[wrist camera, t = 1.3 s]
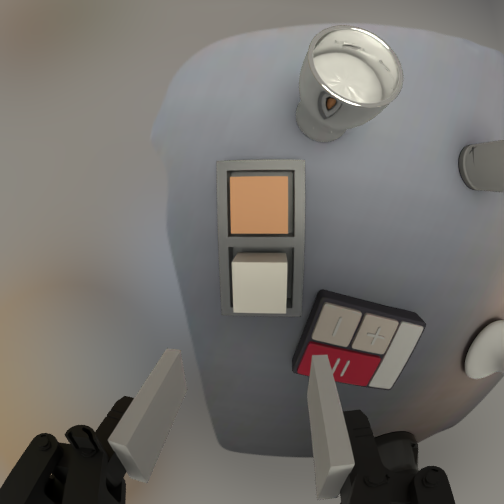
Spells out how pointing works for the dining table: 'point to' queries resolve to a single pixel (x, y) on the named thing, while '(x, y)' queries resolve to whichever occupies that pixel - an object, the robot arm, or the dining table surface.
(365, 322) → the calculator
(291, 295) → the key housing
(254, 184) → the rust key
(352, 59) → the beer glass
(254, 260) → the cream key
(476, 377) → the flower in vase
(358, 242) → the dining table surface
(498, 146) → the travel mug
